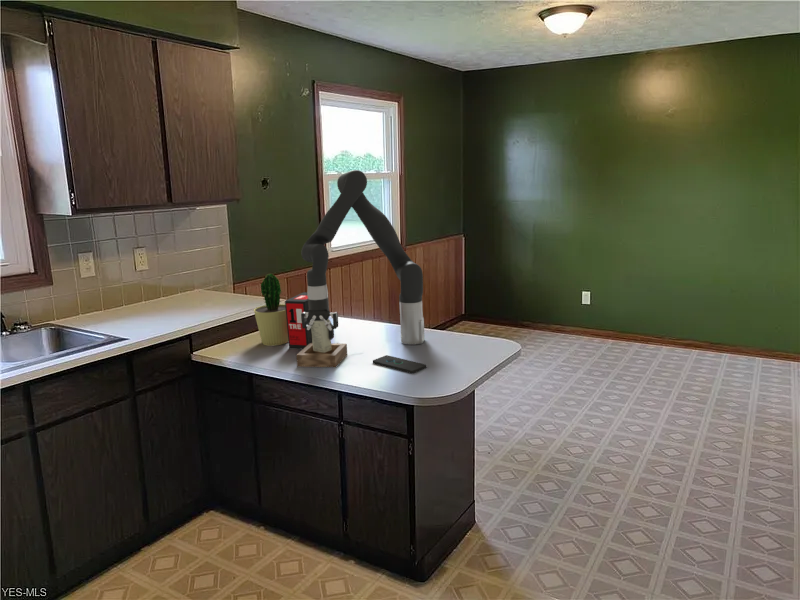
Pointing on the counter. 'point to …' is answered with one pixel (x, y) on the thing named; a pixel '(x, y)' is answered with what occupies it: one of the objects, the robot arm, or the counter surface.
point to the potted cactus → (271, 314)
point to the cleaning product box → (297, 321)
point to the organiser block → (321, 356)
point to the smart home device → (399, 364)
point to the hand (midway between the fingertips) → (321, 339)
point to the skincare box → (320, 336)
